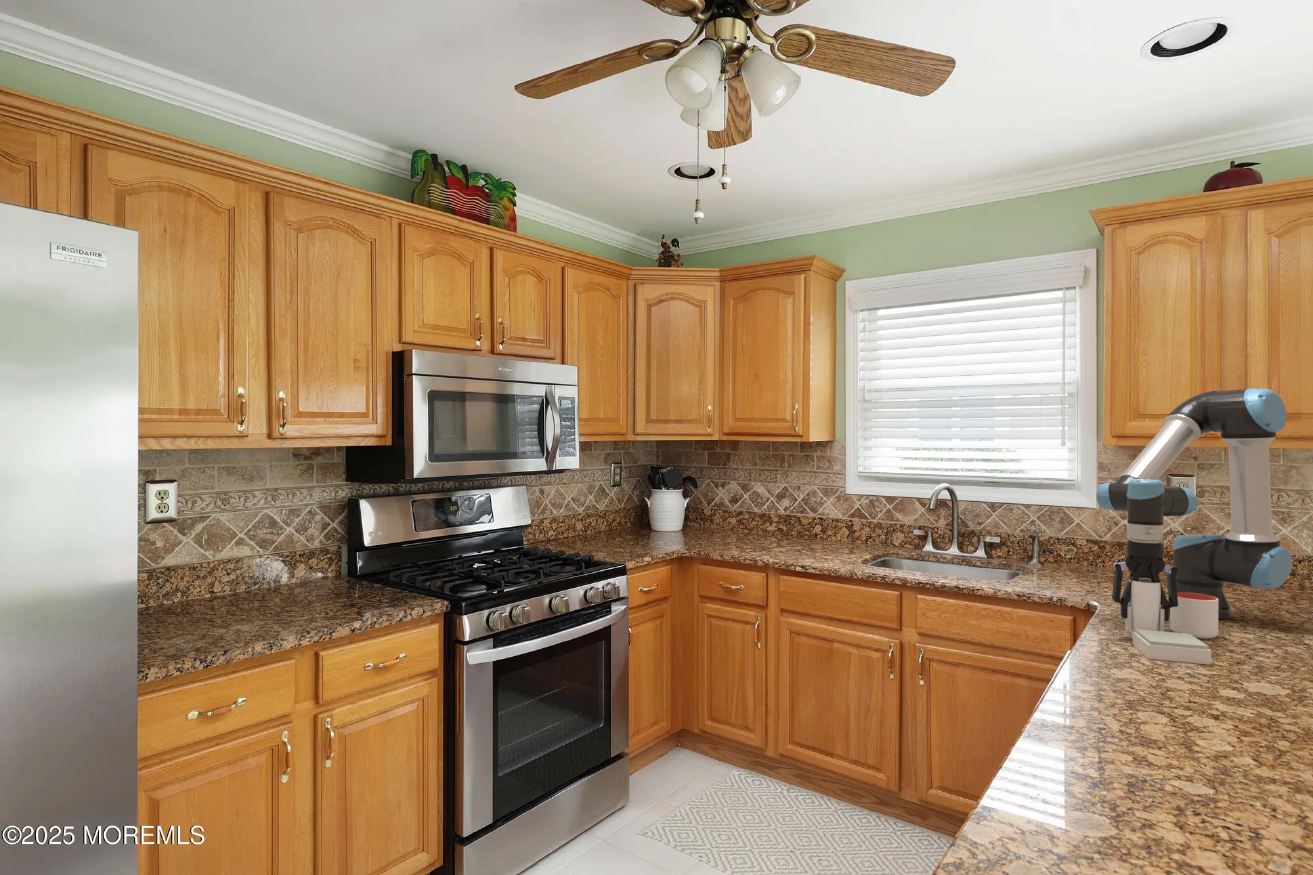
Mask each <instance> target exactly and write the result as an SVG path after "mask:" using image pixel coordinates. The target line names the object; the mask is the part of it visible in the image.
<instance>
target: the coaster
mask: <svg viewBox="0 0 1313 875" xmlns="http://www.w3.org/2000/svg"><path fill="white" fill-rule="evenodd" d="M1132 646H1133V647H1134V648H1136V649H1137V650H1138V651H1139V652H1140V653H1141V654H1143V656H1145V657H1146V658H1147V659H1148V660H1158V661H1167V662H1178V663H1187V664H1199V665H1210V666H1211V665H1212V650H1211V648H1209V645H1208V644H1206V643H1204V642H1203V641H1201V639H1199V638H1195V637H1194V636H1192V635H1191V634H1188V633H1176V632H1173V631H1165V630H1164V631H1152V630H1140V629H1135V632H1133V638H1132Z"/></svg>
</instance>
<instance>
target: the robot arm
mask: <svg viewBox="0 0 1313 875" xmlns="http://www.w3.org/2000/svg"><path fill="white" fill-rule="evenodd" d="M1287 412H1288V411H1287V408H1286V405H1285V403H1284V400H1283V398H1282V397H1281V396H1280V395H1279V394H1278V393H1277V392H1275V391H1274V390H1271V389H1269V388H1268V389H1267V388H1253V387H1252V388H1247V389H1245V388H1244V389H1243V388H1242V389H1230V390H1228V389H1227V390H1210V391H1205V392H1201V393H1198V394H1196V395H1193V396H1191V397H1190V398H1187V399H1186V400H1185V401H1183V402H1182V403H1180V404H1179V405H1178V406H1176V407H1175V408H1174V409H1172V410H1171V411H1170V413H1168V415H1166V417H1165V418H1164V419H1163V421H1162V427H1161V428H1160V430H1159V431H1158V432H1156V435H1154V437H1153V438H1152V439H1151V440H1150V441H1149V442H1148V444H1147V445H1146V446H1145V447H1143V449H1142V450H1141V452H1140V453H1139V454H1138V456H1137V457H1135V458H1134V460H1133V461H1132V462H1131V463H1130V465H1129V466H1128V467H1127V468H1126V469H1125V470H1124V472H1122V474H1121V475H1120V476H1119V477H1118V479H1116V481H1115V482H1111V481H1110V482H1103V483H1102V484H1100V485H1099V486H1098V487H1097V490H1096V492H1095V493H1096V494H1095V495H1096V496H1095V497H1096V501H1097V504H1098V505H1099V506H1100V508H1102V509H1104V510H1108V511H1114V512H1124V513H1125V512H1126V513H1127V520H1126V521H1127V522H1126V527H1127V528H1126V537H1127V539H1129V540H1127V541H1126V558H1125V560H1124V561H1122V562H1113V563H1112V568H1113V571H1114V573H1113V574H1114V575H1113V583H1112V592H1111V593H1112V594H1111V600H1112V601H1113V602H1114V603H1117V604H1119V605H1120V606H1119V607H1120V609H1119V610H1120V613H1119V614H1120V617H1121V618H1122V619H1124V630H1125V631H1126V632H1127V633H1131V620H1132V607H1131V606H1130V605H1129V601H1130V598H1131V586H1132V581H1137V582H1138V580H1139V578H1144V579H1151V581H1152V583H1159V582H1160V583H1161V602H1160V611H1159V620H1158V629H1157V631H1164V632H1165V622H1169V621H1170V608H1171V607H1177V606H1178V597H1177V592H1186V593H1197V594H1204V595H1209V596H1213V597H1216V598H1218V620H1228V619H1231V618H1232V608H1231V606H1230V603H1229V600H1228V598H1227V595H1226V593H1225V590H1224V583H1229V584H1233V585H1234V584H1235V585H1241V586H1246V587H1251V588H1255V589H1267V590H1273V589H1276V588H1277V589H1278V588H1280V586H1283V584H1284V583H1285V582H1286V580H1287V579H1288V577H1289V575H1290V573H1291V570H1292V566H1293V565H1292V564H1293V563H1292V562H1293V559H1292V558H1293V557H1292V555H1291V553H1290V551H1289V549H1287V548H1285V547H1284V546H1281V543H1280V540H1281V539H1280V537H1278V536H1277V535H1276V534H1274V533H1273V522H1272V494H1271V470H1270V467H1271V466H1270V465H1271V463H1270V444H1271V443H1272V442H1274V441H1275V440H1276V439H1277V433H1278V432H1280V431H1282V430H1283V429H1284V428H1285V427H1286V422H1287V421H1288V420H1287V419H1288V413H1287ZM1213 432H1214V433H1220V439H1221V441H1223V442H1224V443H1225V444H1227V446H1228V447H1227V449H1228V474H1229V502H1230V506H1229V507H1230V525H1231V526H1230V529H1231V530H1230V531H1229V532H1228V533H1226V534H1225V535H1223V534H1182V535H1178V536H1175V538H1174V542H1173V549H1172V552H1173V565H1168V564H1166V562H1164V543H1162V541H1164V517H1182V516H1187V515H1190V514H1192V513H1194V511H1195V510H1196V509H1197V506H1198V498H1197V495H1196V494H1195V492H1194V491H1193V490H1192V489H1190V488H1188V487H1184V486H1177V485H1174V486H1165V485H1164V482H1163V481H1161V480H1160V478H1161V477H1162V476H1163V474H1164V473H1165V472H1166V470H1168V468H1169V467H1170V466H1171V465H1172V463H1173V462H1174V461H1175V460H1176V459H1177V458H1178V456H1179V455H1180V454H1181V453H1182V451H1184V450H1185V448H1186V447H1187V446H1188V445H1189V444H1190V442H1194V441H1196V440H1199V438H1200V437H1201V436H1202V435H1203V434H1206V433H1207V434H1208V433H1213ZM1125 568H1127V569H1128V570H1129V571H1130V574H1129V575H1128V581H1127V583H1126V585H1125V587H1124V590H1123V592H1122V585H1123V575H1124V574H1123V572H1124V571H1125ZM1163 570H1164V573H1165V574H1166V584H1167V594H1168V595H1166V594H1165V590H1164V588H1163V585H1162V582H1161V578H1160V573H1162V571H1163ZM1129 579H1130V580H1131V582H1129ZM1121 594H1122V596H1121ZM1167 596H1168V597H1167Z"/></svg>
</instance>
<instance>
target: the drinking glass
mask: <svg viewBox="0 0 1313 875" xmlns="http://www.w3.org/2000/svg"><path fill="white" fill-rule="evenodd" d="M1128 580H1129V582H1131V580H1130V579H1129V578H1128ZM1161 585H1162V582H1161V583H1160V582H1159V583H1152V581H1151V579H1149V578H1139V580H1138V582H1137V581H1132V586H1131V598H1130V601H1129V603H1128V605H1130V606H1131V607H1132V620H1131V638H1132V639H1133V632H1135V629H1140V630H1152V631H1157V629H1158V620H1159V611H1160V607H1161V604H1160V602H1161Z"/></svg>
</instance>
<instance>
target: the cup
mask: <svg viewBox="0 0 1313 875" xmlns="http://www.w3.org/2000/svg"><path fill="white" fill-rule="evenodd" d="M1177 597H1178V606H1177V607H1171V608H1170V612H1169V628H1170V630H1171V632H1176V633H1188V634H1191V635H1192V636H1194V637H1195V638H1197V639H1200V640H1201V639H1203V640H1204V639H1205V640H1207V639H1209V640H1210V639H1213V638H1216V637H1218V635H1219V619H1218V598H1216V597H1213V596H1209V595H1204V594H1197V593H1186V592H1177Z"/></svg>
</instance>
